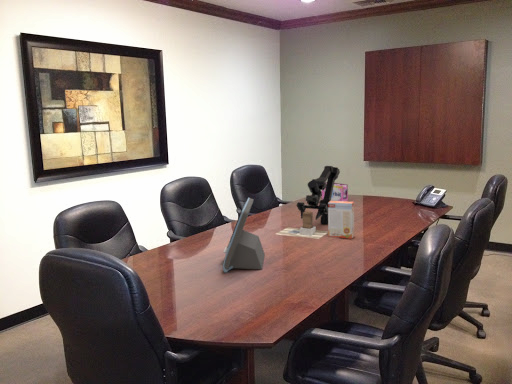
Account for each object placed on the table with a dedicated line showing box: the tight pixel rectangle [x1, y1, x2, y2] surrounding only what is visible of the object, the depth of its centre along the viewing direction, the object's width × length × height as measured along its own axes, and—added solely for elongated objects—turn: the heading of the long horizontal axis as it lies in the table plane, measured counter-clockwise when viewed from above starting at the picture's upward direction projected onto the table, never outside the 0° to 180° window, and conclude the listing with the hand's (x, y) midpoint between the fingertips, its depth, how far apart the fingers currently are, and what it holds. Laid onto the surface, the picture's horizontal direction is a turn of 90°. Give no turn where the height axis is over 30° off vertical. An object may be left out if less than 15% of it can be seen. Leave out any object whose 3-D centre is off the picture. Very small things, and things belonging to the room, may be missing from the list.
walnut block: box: [302, 211, 314, 229], centre depth 285 cm, size 4×4×13 cm
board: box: [275, 227, 328, 240], centre depth 289 cm, size 18×28×1 cm, turn 62°
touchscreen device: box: [222, 197, 266, 273], centre depth 236 cm, size 35×20×30 cm, turn 176°
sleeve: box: [299, 225, 317, 236], centre depth 286 cm, size 7×7×4 cm
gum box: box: [321, 181, 349, 202], centre depth 394 cm, size 24×8×14 cm, turn 37°
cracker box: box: [327, 200, 355, 240], centre depth 278 cm, size 14×6×21 cm, turn 65°
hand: (308, 218), depth 286 cm, fingers open, 9 cm apart
